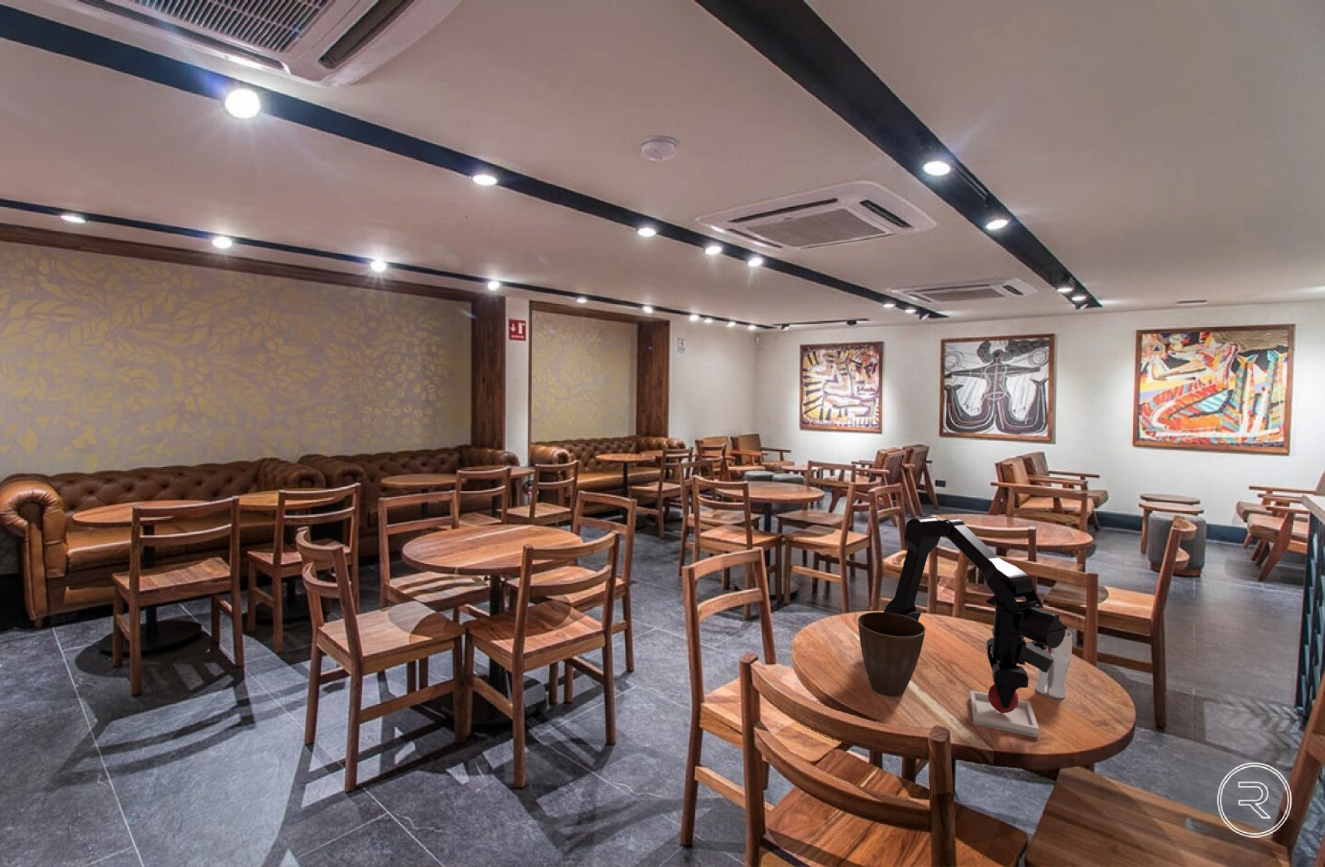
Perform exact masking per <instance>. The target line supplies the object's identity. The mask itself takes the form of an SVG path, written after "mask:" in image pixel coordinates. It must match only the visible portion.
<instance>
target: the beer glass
mask: <svg viewBox="0 0 1325 867" xmlns="http://www.w3.org/2000/svg"><path fill="white" fill-rule="evenodd" d="M1044 647H1045V650H1048V652H1049V653H1050V654H1051V655H1052V657H1053V659H1054V661H1053V663H1052V665H1051V667H1050V668H1049V670H1048V672H1047V673H1045V672H1042V671H1041V670H1040V669H1038V678H1037V681H1036V685H1035V691H1036V692H1038V693H1039V694H1040V695H1042V696H1045V697H1048V698H1051V699H1058V700H1059V699H1064V698H1066V696H1067V692H1066V677H1067V672H1068V671H1069V667H1070V664H1071V660H1072V653H1073V633H1072V632H1071V631H1069V630H1067V629H1065V636H1064V639H1063V641H1062V643H1061V644H1060V645H1059V646H1058V647H1057V648H1050V647H1048V646H1045V645H1044Z"/></svg>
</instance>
